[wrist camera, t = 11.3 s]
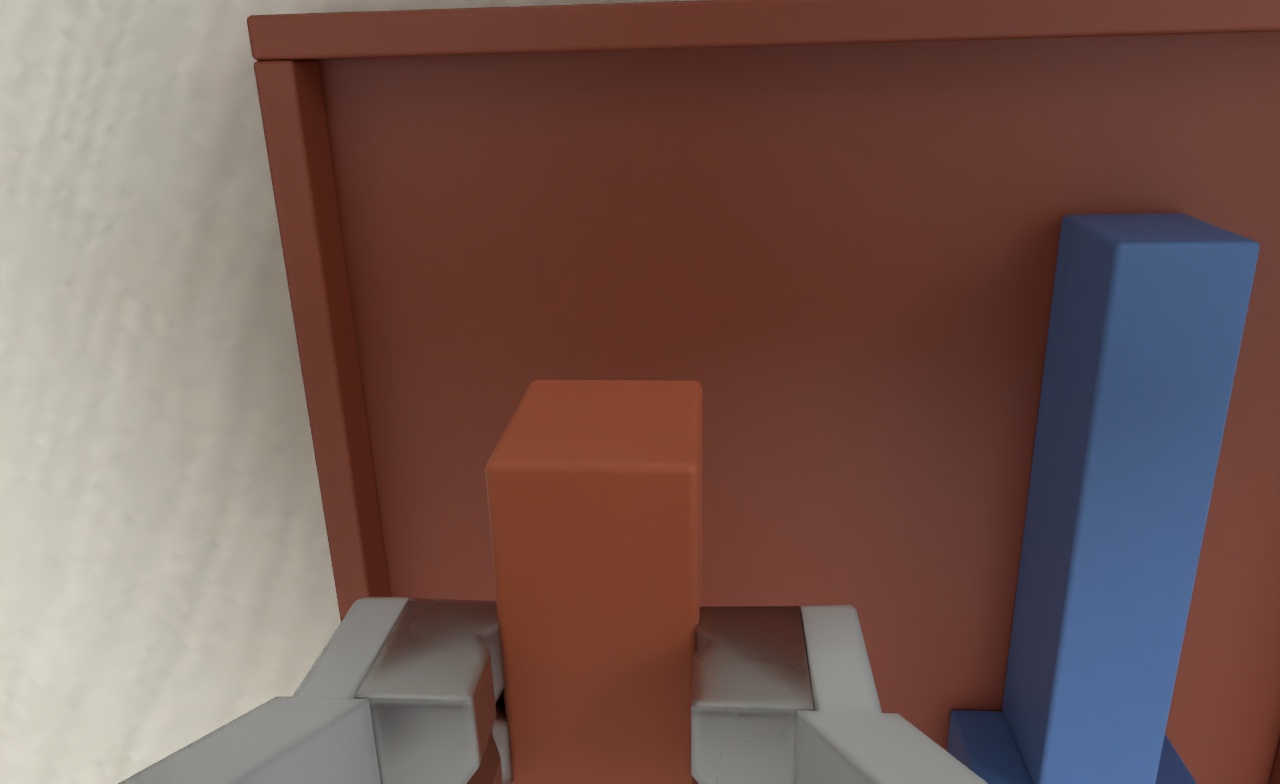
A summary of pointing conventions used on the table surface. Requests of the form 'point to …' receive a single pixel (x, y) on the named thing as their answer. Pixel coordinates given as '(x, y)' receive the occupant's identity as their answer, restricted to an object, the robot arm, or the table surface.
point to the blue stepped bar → (1116, 500)
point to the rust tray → (776, 291)
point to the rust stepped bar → (599, 578)
